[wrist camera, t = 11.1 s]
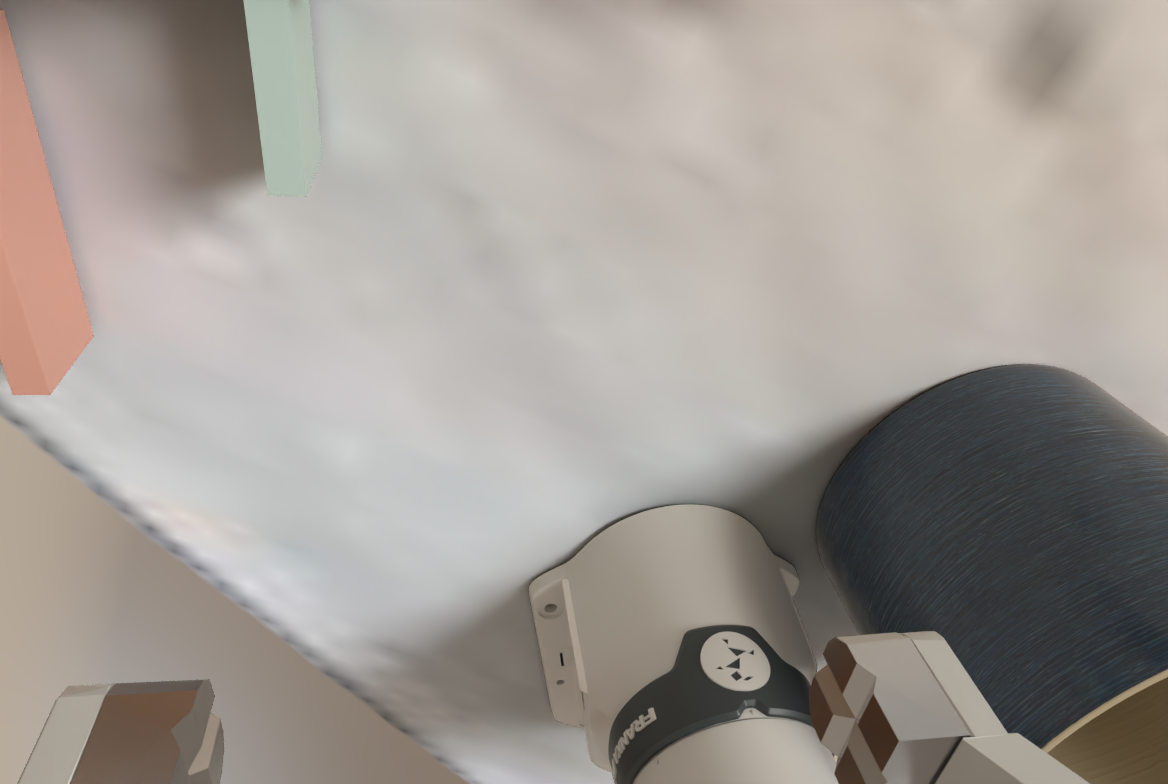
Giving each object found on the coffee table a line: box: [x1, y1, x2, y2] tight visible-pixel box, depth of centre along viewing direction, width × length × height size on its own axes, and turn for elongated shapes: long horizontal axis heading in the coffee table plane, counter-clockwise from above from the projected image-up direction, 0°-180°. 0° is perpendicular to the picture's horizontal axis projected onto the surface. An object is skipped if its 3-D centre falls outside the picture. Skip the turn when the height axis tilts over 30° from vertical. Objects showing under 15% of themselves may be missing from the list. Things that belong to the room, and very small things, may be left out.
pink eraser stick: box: [0, 9, 94, 395], centre depth 31 cm, size 14×1×5 cm, turn 174°
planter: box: [816, 364, 1168, 784], centre depth 45 cm, size 22×22×20 cm
